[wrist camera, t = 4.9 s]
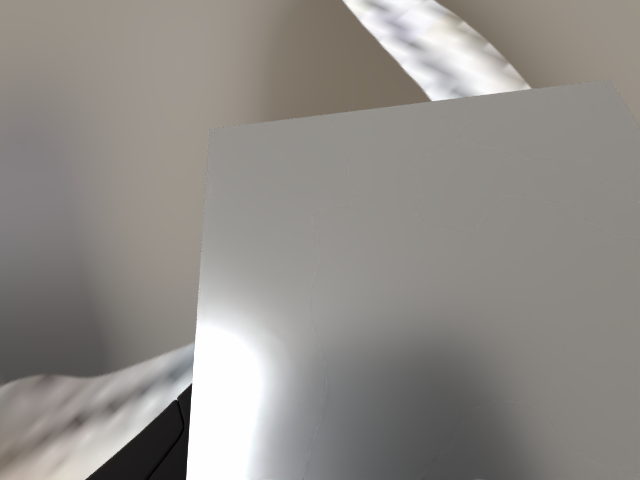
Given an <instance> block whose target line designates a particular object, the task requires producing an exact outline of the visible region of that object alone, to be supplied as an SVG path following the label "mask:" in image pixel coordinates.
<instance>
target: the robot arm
mask: <svg viewBox="0 0 640 480" xmlns="http://www.w3.org/2000/svg"><path fill="white" fill-rule="evenodd" d="M192 389H193V383H192V384H191V385H190V386H189V387H188V388H186V389H185V390H184V391H183V392H182V393H181V394H180V395H179V396H178V398H177V400H178V401H177V400H174V401H173V402H172V403H171V404H170V405H169V406H168V407H167V408H166V409H165V410H164V411H163V412H162V413H160V414H159V415H158V416H157V417H156V418H155V419H154V420H153V421H152V422H151V423H150V424H149V425H148V426H147V427H145V428H144V429H143V430H142V431H141V432H140V433H139V434H138V435H137V436H136V437H135V438H133V439H132V440H131V441H130V442H129V443H128V444H126V445H125V446H124V447H123V448H122V449H121V450H120V451H118V452H117V453H116V454H115V455H114V456H113V457H112V458H110V459H109V460H108V461H107V462H106V463H105V464H103V465H102V466H101V467H100V468H99V469H97V470H96V471H95V472H94V473H93V474H91V475H90V476H89V477H88V478H87V479H86V480H187V466H188V451H189V435H190V420H191V404H192Z"/></svg>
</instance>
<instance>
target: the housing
mask: <svg viewBox="0 0 640 480" xmlns="http://www.w3.org/2000/svg"><path fill="white" fill-rule="evenodd" d="M196 328H197V329H196V342H195V358H194V373H193V389H192V404H191V420H190V435H189V451H188V466H187V480H640V126H639V125H638V123H637V122H636V120H635V119H634V117H633V115H632V114H631V112H630V111H629V109H628V107H627V105H626V104H625V102H624V101H623V99H622V97H621V96H620V94H619V93H618V91H617V89H616V88H615V86H614V85H613V83H612V81H611V80H603V81H595V82H586V83H578V84H570V85H562V86H554V87H546V88H537V89H529V90H521V91H513V92H505V93H497V94H489V95H481V96H473V97H465V98H456V99H448V100H440V101H432V102H424V103H416V104H408V105H400V106H392V107H384V108H376V109H367V110H360V111H351V112H343V113H335V114H327V115H320V116H311V117H303V118H295V119H287V120H278V121H271V122H262V123H254V124H247V125H238V126H231V127H222V128H214V129H209V140H208V157H207V172H206V187H205V202H204V219H203V233H202V250H201V265H200V280H199V297H198V311H197V327H196Z"/></svg>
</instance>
